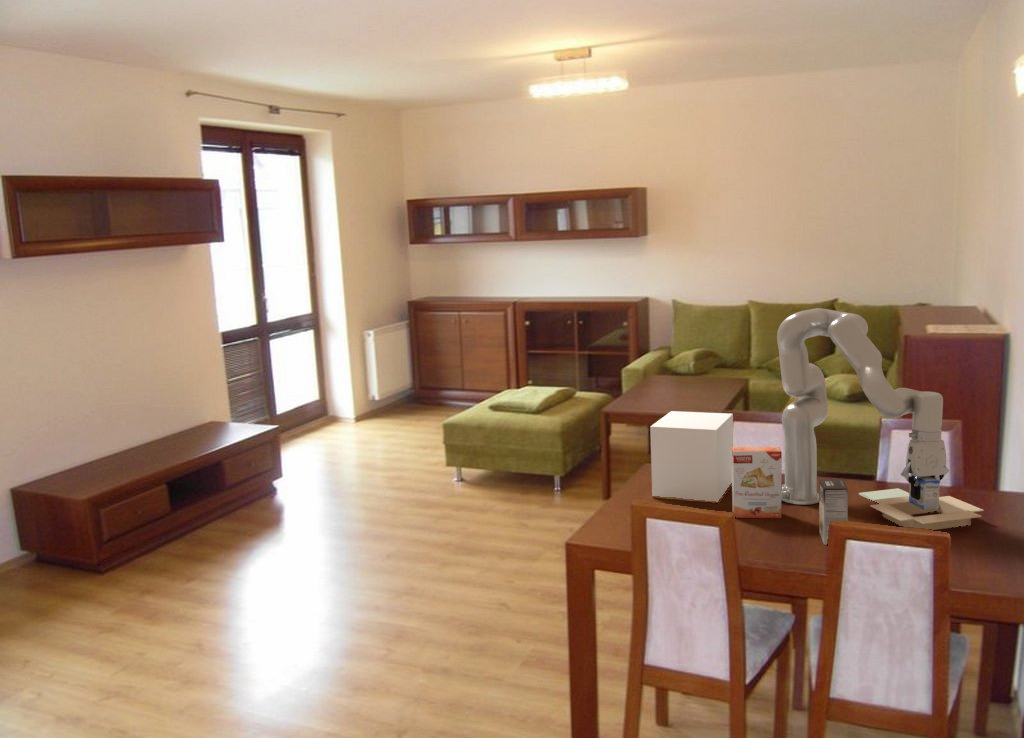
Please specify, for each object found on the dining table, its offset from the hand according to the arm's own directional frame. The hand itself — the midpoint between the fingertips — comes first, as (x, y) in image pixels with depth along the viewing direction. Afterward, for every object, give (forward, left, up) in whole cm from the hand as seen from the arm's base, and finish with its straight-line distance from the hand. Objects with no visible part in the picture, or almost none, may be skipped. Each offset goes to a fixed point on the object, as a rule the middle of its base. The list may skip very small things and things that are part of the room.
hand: (923, 496), depth 240 cm
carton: (0, 0, -7) cm, 7 cm away
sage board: (+4, +21, -7) cm, 22 cm away
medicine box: (0, 0, -3) cm, 3 cm away
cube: (-49, +51, -8) cm, 71 cm away
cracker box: (-42, +20, -7) cm, 47 cm away
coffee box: (-32, -5, -7) cm, 33 cm away
